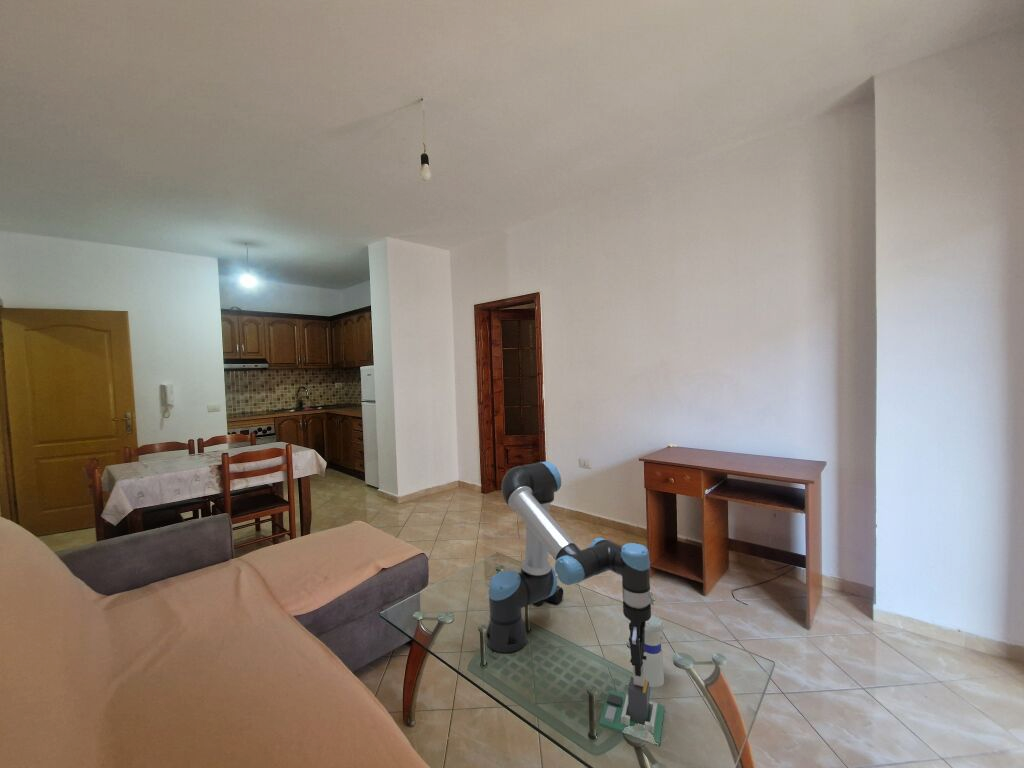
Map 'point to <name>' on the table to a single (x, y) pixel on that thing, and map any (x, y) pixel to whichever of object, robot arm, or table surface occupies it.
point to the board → (619, 718)
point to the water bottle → (653, 651)
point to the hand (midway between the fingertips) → (639, 683)
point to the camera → (552, 597)
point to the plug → (638, 702)
